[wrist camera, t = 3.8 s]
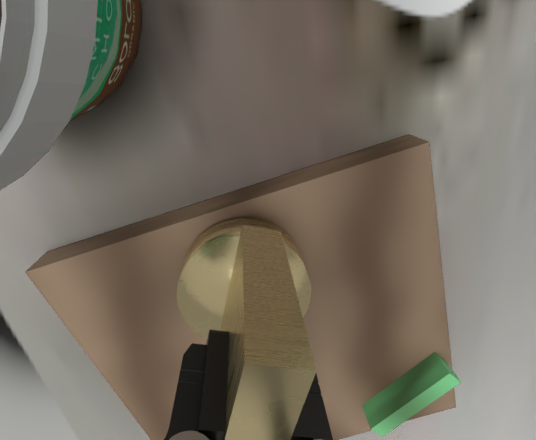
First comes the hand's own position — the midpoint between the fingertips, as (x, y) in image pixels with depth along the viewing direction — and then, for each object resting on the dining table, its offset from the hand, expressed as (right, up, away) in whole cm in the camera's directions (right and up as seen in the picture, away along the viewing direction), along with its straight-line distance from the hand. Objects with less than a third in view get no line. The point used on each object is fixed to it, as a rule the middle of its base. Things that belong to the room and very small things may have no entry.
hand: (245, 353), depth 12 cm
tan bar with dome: (-1, -1, +6) cm, 6 cm away
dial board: (+1, -2, +9) cm, 10 cm away
